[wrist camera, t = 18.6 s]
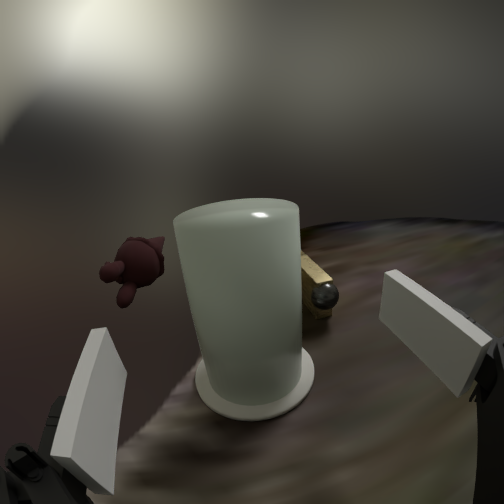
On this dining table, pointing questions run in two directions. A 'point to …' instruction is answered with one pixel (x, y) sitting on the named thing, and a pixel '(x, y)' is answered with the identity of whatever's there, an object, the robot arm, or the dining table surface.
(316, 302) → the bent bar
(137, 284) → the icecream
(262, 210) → the tall sage cylinder
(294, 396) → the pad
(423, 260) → the dining table surface
